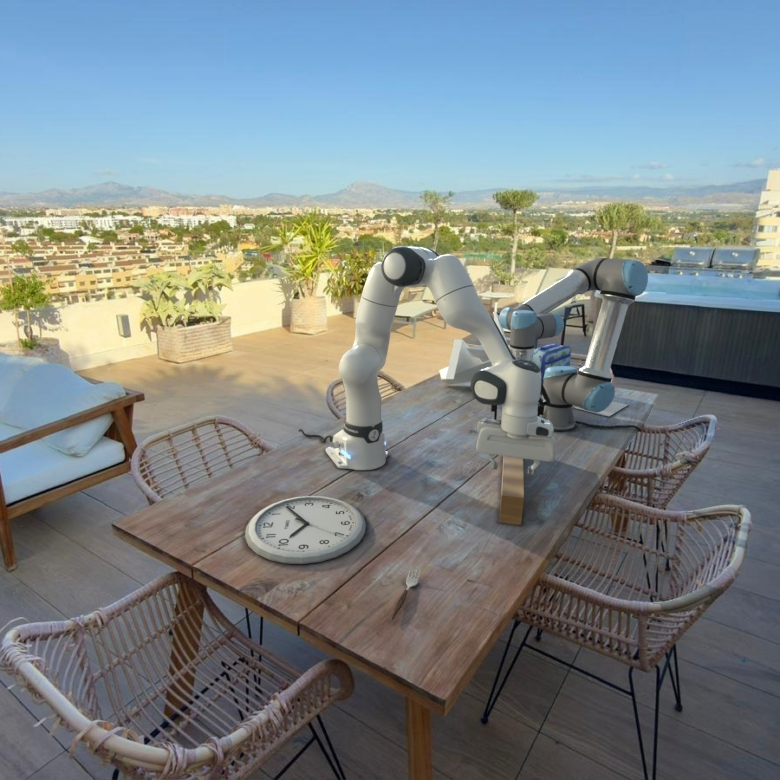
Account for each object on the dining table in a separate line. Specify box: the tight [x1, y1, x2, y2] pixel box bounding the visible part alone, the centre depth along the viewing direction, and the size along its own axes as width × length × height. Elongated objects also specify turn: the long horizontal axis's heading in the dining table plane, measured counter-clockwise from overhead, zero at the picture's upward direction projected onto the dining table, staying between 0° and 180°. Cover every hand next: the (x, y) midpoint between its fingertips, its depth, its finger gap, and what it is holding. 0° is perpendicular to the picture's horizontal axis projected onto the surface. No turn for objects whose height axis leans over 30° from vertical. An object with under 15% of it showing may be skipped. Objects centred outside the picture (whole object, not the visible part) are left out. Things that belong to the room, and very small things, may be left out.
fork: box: [391, 565, 422, 620], centre depth 108 cm, size 3×16×2 cm, turn 160°
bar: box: [498, 456, 525, 526], centre depth 158 cm, size 51×6×8 cm, turn 167°
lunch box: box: [531, 343, 572, 394], centre depth 248 cm, size 26×11×21 cm, turn 135°
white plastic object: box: [438, 310, 510, 386], centre depth 245 cm, size 37×45×31 cm
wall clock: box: [244, 495, 367, 565], centre depth 132 cm, size 30×2×30 cm
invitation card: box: [573, 400, 629, 418], centre depth 226 cm, size 21×1×15 cm
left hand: (512, 471), depth 139 cm, fingers open, 8 cm apart
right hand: (516, 422), depth 172 cm, fingers open, 13 cm apart
